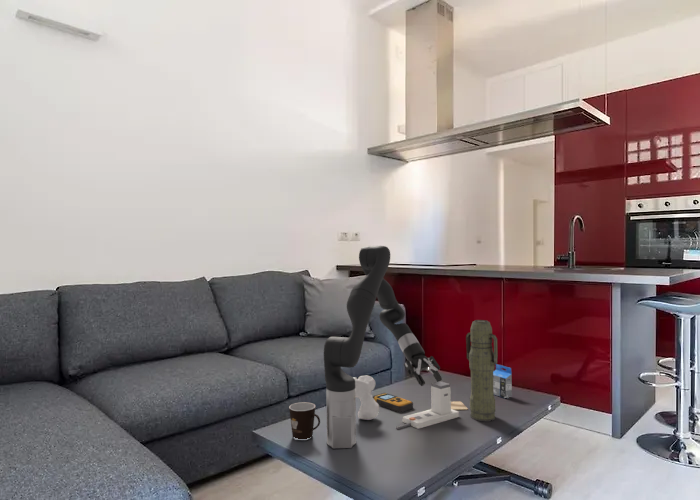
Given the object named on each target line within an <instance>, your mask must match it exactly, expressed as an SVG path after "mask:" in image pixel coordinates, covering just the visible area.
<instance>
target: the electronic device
mask: <svg viewBox="0 0 700 500" xmlns="http://www.w3.org/2000/svg"><path fill="white" fill-rule="evenodd" d="M372 397H373V399H374V400H375V401H376V403H378V405H379V407H383V408H386V409H388V410H391V411H394V412H396V413H403V412H407V411H409V410H412V409H414V402H413V401H411V400H408V399H405V398H403V397H399V396H397V395H393V394H390V393H387V392H382V393H379V394H376V395H372Z"/></svg>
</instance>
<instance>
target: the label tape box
mask: <svg viewBox="0 0 700 500" xmlns="http://www.w3.org/2000/svg"><path fill="white" fill-rule="evenodd" d="M512 373H513V372H512V367H508V366H505V365H502V364H498V363H497V364H495V369H494V371H493V389H494V396H497V397H500V398H503V399H505V398H507V399H510V398H509V397H512V396H513V393H512V392H513V390H512V389H513V387H512V386H513V385H512V384H513V383H512V380H513V379H512V376H513V375H512Z"/></svg>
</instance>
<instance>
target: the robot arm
mask: <svg viewBox="0 0 700 500" xmlns="http://www.w3.org/2000/svg"><path fill="white" fill-rule="evenodd" d="M358 261H359V264H360V267H361V269H362V271H363V273H364V275H365V276H364V277H363V278H362V279H360V280H359V281H358V282H356V283H355V285H354V286H353V287H352V289H351V291H350V293H349V295H348V298H347V301H346V312H347V315H348V317H349V319H350V320H349V321H350V323H351V326H352V328H351V329H352V330H351V334H350V335H349V336H348V337H346V336H345V337H344V336H342V337H341V336H330V337H328V338H326V340H325V343H324V346H323V366H324V379H325V384H326V385H325V386H326V390H325V391H326V392H325V393H326V394H325V395H326V444H327V445H328V446H329V447H331V449H351V448H353V446H355V445H356V444H357V428H356V427H357V423H356V422H357V419H356V418H357V417H356V408H357V407H356V398H355V379H354V378H353V377H354V376H352V375H349V373H346V372H345V371H344V370H343V368H349V369H352V368H355V366H356V365H358V362H359V360H360V356H361V354H362V349H363V344H364V341H365V335H366V330H367V329H368V324H369V321H370V318H371V315H372V312H373V309H374V307H375V305H376V302H377V301H378V305H379V306H380V308H381V309H382V310H381V311H380V312H379V315H378V316H379V321H380V323H381V324H382V325H383V326H384V327H385V328H386V329H388V330H389V331H390V333H391V334H392V335H393V337H394V338H395V341H397V343H398V346H399V349H400V350H401V352H402V353H403V355H404V357H405V358H406V361H405V363H404V364H403V366H404V368H405V370H406V371H407V374H408V376H409V377H410V378H414V379H416V381H417V383H418V385H420V386H421V387H423V386H425V384H426V381H425V380H424V378H423V376H422V374H421V373H420V372H422V371H426V372H429V373H431V374H432V375H433V377H434V379H435V381H436V382H439V381H443V379H442V378H443V377H442V376H441V374H440V373H439V370H440V369H441V366H440V364H439V363H438V362H437V361H436V359H435V357H434V356H432V355H430V357H427V356H426V353H425V350H424V348H423V347H422V345H421V344H420V342H419V340H418V339H417V337H416V336H415V334H414V333H413V332H412V330H411V327H409V325H408V324H407V323H405V322H402V323H399V322H401V321H403V320H404V318H405V316H406V314H405V313H406V312H405V310H404V308H403V307H402V306H401V304H399V302H398V300H397V298H396V296H395V292H394V290H393V287H392V286H391V284H390V283H389V282H388V281H387V280H386V279H385V274H386V273H387V271H388V268H389V266H390V262H391V250H390V249H389V248H388V246H386V245H367V246H362V247H361V248H360V249H359V254H358ZM376 300H377V301H376ZM396 323H397V324H396Z"/></svg>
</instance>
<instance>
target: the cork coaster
mask: <svg viewBox="0 0 700 500" xmlns="http://www.w3.org/2000/svg"><path fill="white" fill-rule="evenodd" d="M451 409H453V410H455V411H467V410H469V408H468V407H467V406H466V405H465V404H464V403H463V402H462V401H460V400H458V401H457V400H456V401H454V400H453V401H451Z"/></svg>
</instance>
